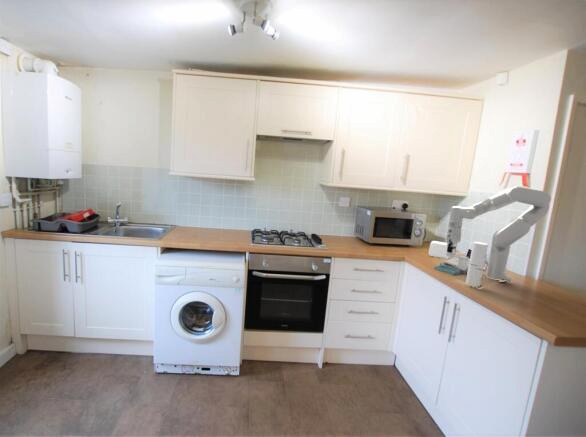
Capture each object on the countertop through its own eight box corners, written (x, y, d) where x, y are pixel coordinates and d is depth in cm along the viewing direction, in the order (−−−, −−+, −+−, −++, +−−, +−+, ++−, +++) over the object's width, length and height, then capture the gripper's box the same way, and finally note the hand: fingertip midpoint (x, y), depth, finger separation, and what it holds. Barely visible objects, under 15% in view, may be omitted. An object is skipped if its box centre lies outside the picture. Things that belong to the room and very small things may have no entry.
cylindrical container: (466, 282, 177) (474, 241, 173) (480, 285, 173) (488, 243, 169) (464, 285, 172) (472, 242, 168) (478, 288, 167) (487, 245, 163)
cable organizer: (426, 256, 233) (429, 241, 231) (429, 253, 241) (431, 239, 240) (448, 260, 225) (450, 245, 223) (450, 258, 233) (452, 243, 231)
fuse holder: (469, 274, 194) (470, 269, 194) (463, 275, 190) (464, 271, 189) (445, 266, 207) (445, 262, 207) (438, 267, 203) (439, 263, 202)
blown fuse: (455, 256, 200) (457, 241, 199) (451, 256, 198) (454, 242, 196) (449, 254, 203) (451, 240, 202) (445, 255, 201) (448, 240, 200)
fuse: (465, 272, 194) (468, 257, 193) (462, 273, 192) (465, 257, 190) (459, 270, 197) (462, 255, 196) (456, 271, 195) (459, 256, 194)
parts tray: (459, 274, 191) (460, 270, 191) (452, 276, 186) (453, 271, 186) (441, 268, 201) (442, 264, 200) (434, 270, 196) (434, 265, 195)
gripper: (454, 226, 190) (450, 254, 192) (467, 225, 199) (463, 252, 202) (442, 224, 196) (438, 251, 198) (455, 223, 205) (451, 249, 208)
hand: (451, 251), depth 200 cm, fingers closed on blown fuse, 3 cm apart
